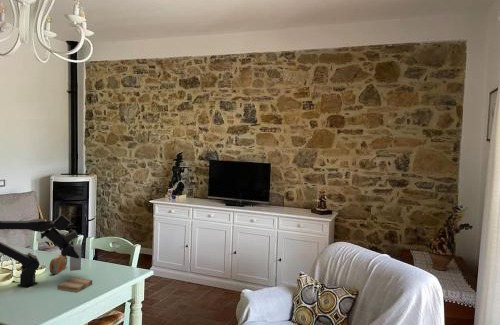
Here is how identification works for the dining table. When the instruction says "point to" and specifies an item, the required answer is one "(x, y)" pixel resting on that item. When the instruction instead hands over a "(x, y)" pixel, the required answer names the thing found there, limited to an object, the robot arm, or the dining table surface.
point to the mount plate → (75, 284)
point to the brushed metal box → (74, 262)
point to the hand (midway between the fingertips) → (78, 256)
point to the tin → (58, 264)
